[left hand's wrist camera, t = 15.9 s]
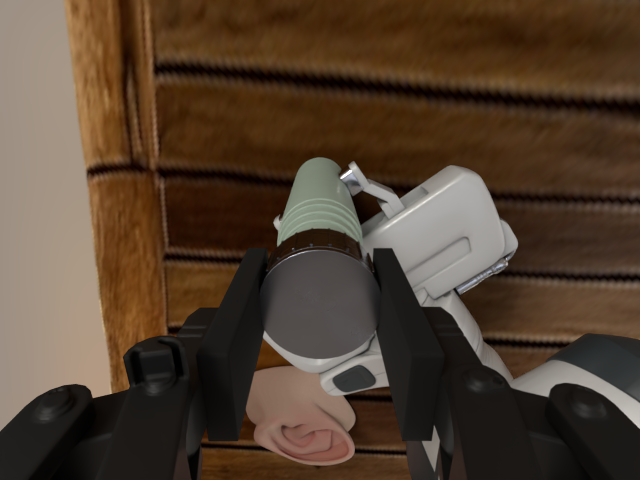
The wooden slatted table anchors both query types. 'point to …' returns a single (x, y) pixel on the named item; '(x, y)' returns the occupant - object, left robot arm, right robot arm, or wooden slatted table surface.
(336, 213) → the bottle
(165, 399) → the left robot arm
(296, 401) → the anatomical model
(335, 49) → the wooden slatted table surface
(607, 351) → the right robot arm
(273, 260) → the cap
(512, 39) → the wooden slatted table surface
